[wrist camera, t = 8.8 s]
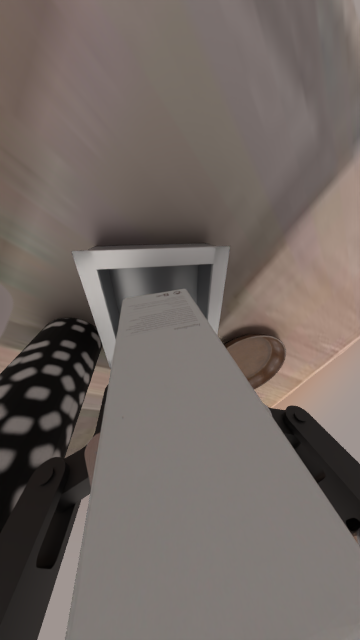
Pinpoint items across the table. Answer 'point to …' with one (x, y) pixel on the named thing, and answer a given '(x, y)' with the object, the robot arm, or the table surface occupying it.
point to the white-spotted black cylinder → (42, 402)
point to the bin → (150, 279)
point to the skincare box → (203, 502)
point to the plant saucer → (257, 357)
